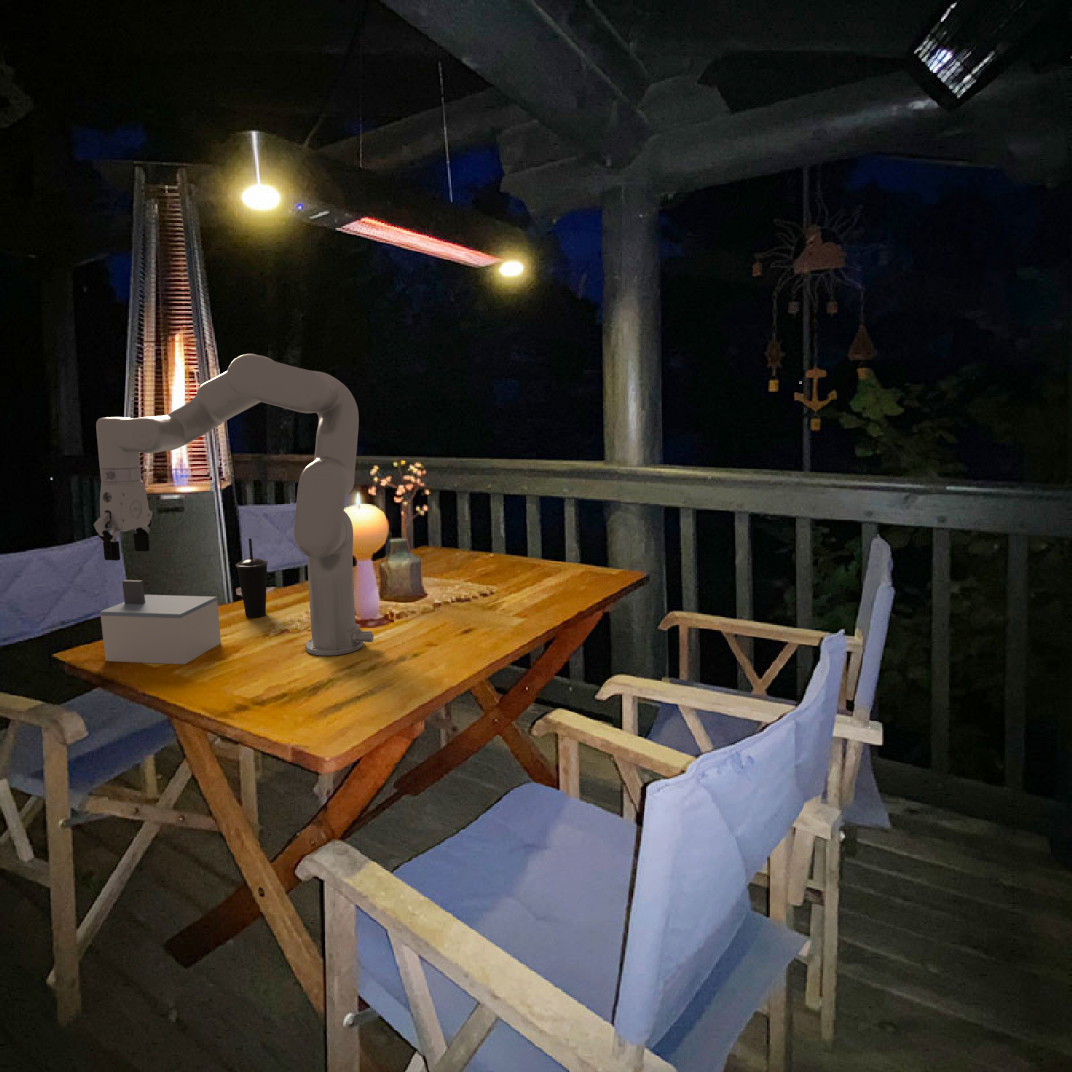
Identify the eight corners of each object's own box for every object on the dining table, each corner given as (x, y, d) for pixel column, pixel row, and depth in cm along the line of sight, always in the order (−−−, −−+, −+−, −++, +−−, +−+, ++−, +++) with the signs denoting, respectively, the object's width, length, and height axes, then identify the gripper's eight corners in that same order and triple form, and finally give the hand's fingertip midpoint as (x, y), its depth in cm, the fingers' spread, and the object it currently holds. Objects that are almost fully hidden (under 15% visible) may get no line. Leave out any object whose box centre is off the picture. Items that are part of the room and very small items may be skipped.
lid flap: (217, 600, 168) (215, 575, 167) (180, 617, 155) (178, 590, 154) (143, 598, 171) (140, 573, 170) (100, 615, 157) (97, 588, 156)
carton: (220, 642, 170) (217, 600, 168) (185, 664, 157) (180, 618, 155) (147, 640, 172) (143, 598, 171) (105, 661, 159) (100, 615, 157)
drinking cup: (238, 620, 187) (232, 542, 184) (241, 612, 195) (235, 536, 191) (270, 618, 189) (264, 540, 186) (272, 610, 197) (267, 535, 193)
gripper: (109, 480, 149) (117, 564, 152) (162, 472, 166) (168, 548, 169) (75, 479, 150) (83, 563, 153) (131, 472, 167) (137, 547, 170)
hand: (127, 555), depth 161 cm, fingers open, 9 cm apart
